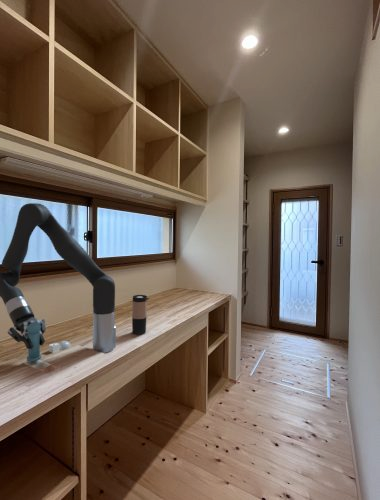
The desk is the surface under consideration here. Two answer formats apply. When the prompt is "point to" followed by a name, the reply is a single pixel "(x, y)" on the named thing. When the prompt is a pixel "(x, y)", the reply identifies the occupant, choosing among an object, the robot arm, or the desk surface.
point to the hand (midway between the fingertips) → (37, 346)
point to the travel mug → (139, 314)
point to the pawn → (34, 341)
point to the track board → (42, 366)
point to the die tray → (59, 346)
